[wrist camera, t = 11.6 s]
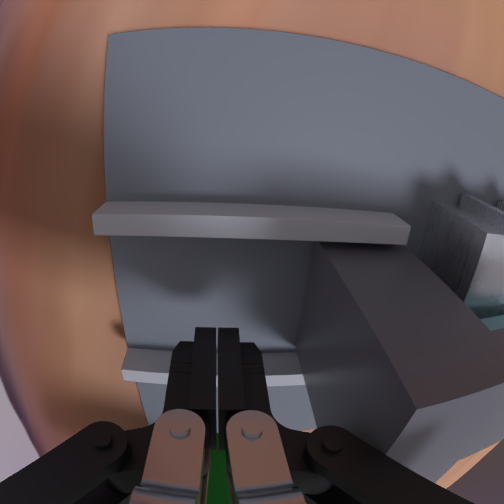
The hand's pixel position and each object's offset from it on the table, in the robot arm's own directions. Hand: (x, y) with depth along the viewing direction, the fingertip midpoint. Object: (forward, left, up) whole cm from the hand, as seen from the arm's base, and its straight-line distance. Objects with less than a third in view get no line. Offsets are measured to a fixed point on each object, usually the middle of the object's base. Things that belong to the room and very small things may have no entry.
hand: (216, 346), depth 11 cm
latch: (0, -9, -3) cm, 9 cm away
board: (0, -10, -5) cm, 11 cm away
